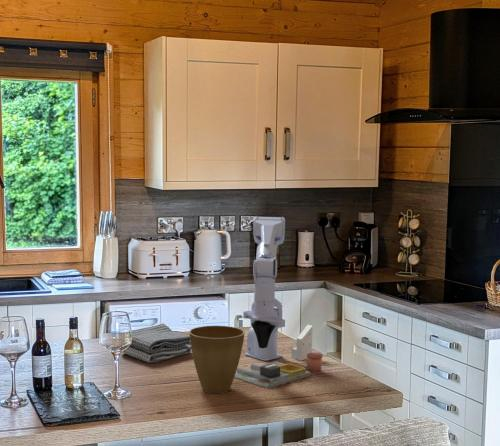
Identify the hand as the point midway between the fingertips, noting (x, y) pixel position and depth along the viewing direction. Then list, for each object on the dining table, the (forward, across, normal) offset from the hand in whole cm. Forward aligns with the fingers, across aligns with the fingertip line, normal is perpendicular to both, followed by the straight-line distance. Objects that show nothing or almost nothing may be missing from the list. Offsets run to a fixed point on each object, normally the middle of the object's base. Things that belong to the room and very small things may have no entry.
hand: (263, 347), depth 214 cm
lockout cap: (+9, +5, +17) cm, 20 cm away
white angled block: (+9, -7, +25) cm, 28 cm away
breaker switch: (+8, +3, 0) cm, 9 cm away
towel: (+10, -39, -7) cm, 41 cm away
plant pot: (+9, -2, -16) cm, 19 cm away
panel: (+9, 0, +4) cm, 10 cm away
